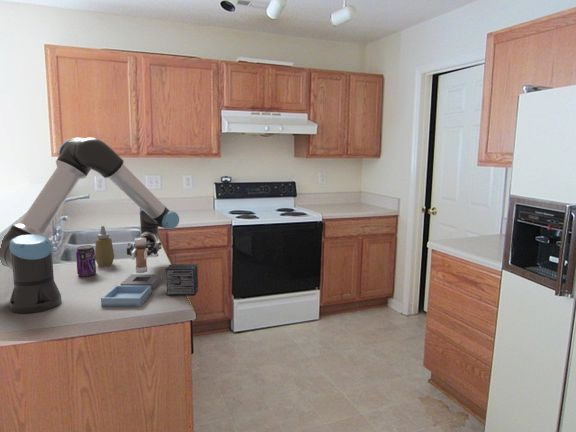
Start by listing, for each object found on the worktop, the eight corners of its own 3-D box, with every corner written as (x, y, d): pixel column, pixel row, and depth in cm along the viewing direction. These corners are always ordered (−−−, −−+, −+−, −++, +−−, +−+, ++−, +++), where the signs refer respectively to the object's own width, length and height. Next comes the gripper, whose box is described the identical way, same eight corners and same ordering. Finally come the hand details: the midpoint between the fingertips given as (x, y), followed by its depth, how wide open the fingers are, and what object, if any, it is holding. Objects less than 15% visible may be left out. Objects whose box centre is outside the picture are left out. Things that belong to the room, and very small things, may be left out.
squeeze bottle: (91, 266, 189) (88, 227, 186) (104, 262, 197) (102, 224, 194) (106, 268, 186) (103, 228, 183) (118, 263, 194) (116, 225, 191)
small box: (198, 290, 160) (198, 263, 159) (195, 296, 154) (195, 268, 152) (170, 290, 160) (169, 263, 158) (166, 296, 154) (165, 268, 152)
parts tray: (101, 306, 143) (100, 298, 143) (115, 293, 156) (115, 285, 155) (140, 306, 143) (139, 298, 143) (151, 293, 156) (151, 285, 156)
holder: (120, 290, 159) (120, 284, 159) (131, 280, 171) (131, 274, 171) (152, 290, 160) (152, 284, 159) (161, 280, 171) (161, 274, 171)
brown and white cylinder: (134, 272, 163) (133, 239, 160) (138, 269, 167) (136, 237, 165) (145, 273, 163) (144, 239, 161) (148, 269, 167) (147, 237, 165)
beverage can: (87, 278, 173) (85, 249, 171) (73, 276, 175) (71, 248, 173) (100, 273, 180) (98, 245, 178) (86, 271, 182) (84, 244, 180)
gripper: (167, 250, 183) (162, 264, 160) (126, 251, 180) (115, 266, 157) (167, 233, 182) (161, 245, 159) (125, 234, 179) (114, 246, 156)
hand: (138, 256), depth 158 cm, fingers closed on brown and white cylinder, 4 cm apart
